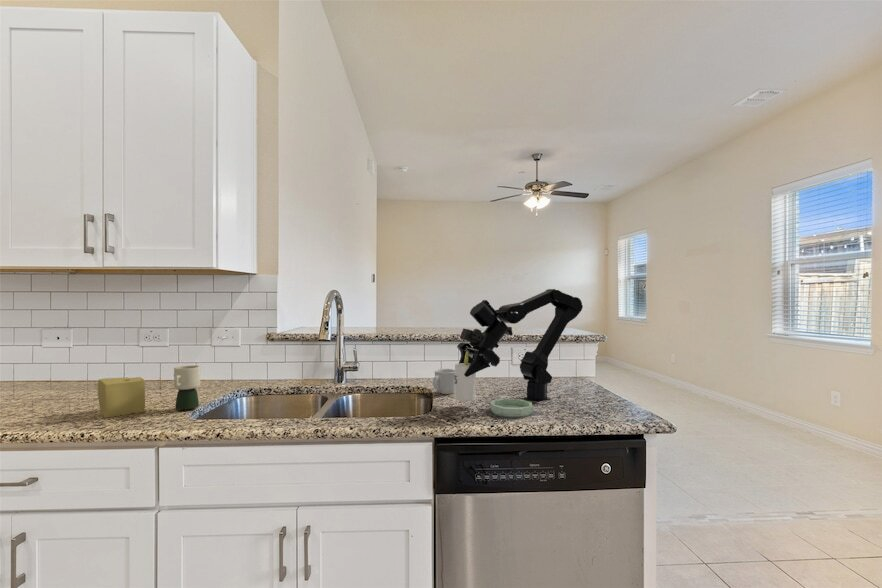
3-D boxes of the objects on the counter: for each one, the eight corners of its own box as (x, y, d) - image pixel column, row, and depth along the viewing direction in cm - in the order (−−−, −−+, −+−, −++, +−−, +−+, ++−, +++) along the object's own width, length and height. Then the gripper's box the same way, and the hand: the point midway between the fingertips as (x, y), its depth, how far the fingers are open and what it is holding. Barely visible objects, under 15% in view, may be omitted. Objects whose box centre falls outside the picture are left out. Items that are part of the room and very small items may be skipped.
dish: (511, 404, 140) (511, 396, 140) (540, 413, 130) (540, 404, 130) (483, 410, 133) (482, 402, 133) (511, 419, 123) (511, 410, 123)
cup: (443, 398, 151) (443, 374, 151) (425, 394, 156) (425, 372, 156) (461, 392, 160) (461, 370, 160) (443, 389, 165) (443, 368, 165)
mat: (511, 405, 141) (511, 404, 141) (543, 414, 130) (543, 413, 130) (480, 411, 133) (480, 410, 133) (511, 421, 123) (511, 420, 123)
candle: (451, 397, 139) (451, 349, 139) (470, 395, 141) (470, 348, 141) (459, 401, 133) (458, 352, 133) (478, 399, 135) (478, 350, 135)
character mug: (187, 404, 142) (187, 364, 142) (208, 405, 141) (208, 364, 141) (163, 413, 131) (163, 369, 131) (186, 414, 130) (186, 370, 130)
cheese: (138, 406, 140) (138, 374, 140) (146, 412, 132) (146, 379, 132) (97, 412, 133) (97, 379, 133) (103, 419, 125) (103, 384, 125)
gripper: (462, 318, 147) (431, 353, 143) (490, 321, 130) (457, 361, 126) (483, 340, 150) (454, 375, 146) (513, 346, 133) (481, 386, 129)
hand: (460, 374), depth 137 cm, fingers closed on candle, 6 cm apart
